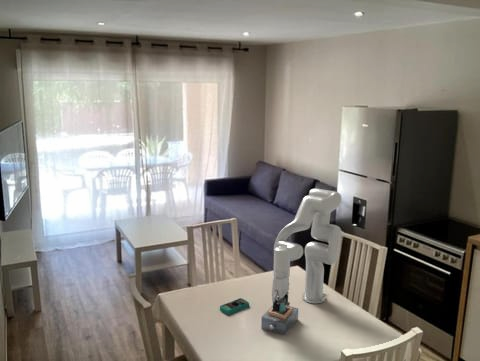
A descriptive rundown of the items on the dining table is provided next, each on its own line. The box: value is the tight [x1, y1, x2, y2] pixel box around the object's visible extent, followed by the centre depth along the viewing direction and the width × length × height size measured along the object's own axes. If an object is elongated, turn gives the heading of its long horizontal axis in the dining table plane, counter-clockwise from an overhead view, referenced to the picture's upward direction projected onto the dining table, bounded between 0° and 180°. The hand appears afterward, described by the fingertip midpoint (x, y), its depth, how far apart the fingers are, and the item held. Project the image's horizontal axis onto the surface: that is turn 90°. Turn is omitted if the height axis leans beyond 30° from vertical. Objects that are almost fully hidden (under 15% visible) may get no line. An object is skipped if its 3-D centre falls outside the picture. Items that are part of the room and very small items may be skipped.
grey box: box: [261, 305, 299, 336], centre depth 206 cm, size 18×12×8 cm, turn 151°
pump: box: [275, 297, 291, 315], centre depth 205 cm, size 5×7×7 cm
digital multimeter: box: [219, 297, 250, 316], centre depth 222 cm, size 7×15×3 cm, turn 130°
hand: (280, 306), depth 206 cm, fingers open, 9 cm apart
